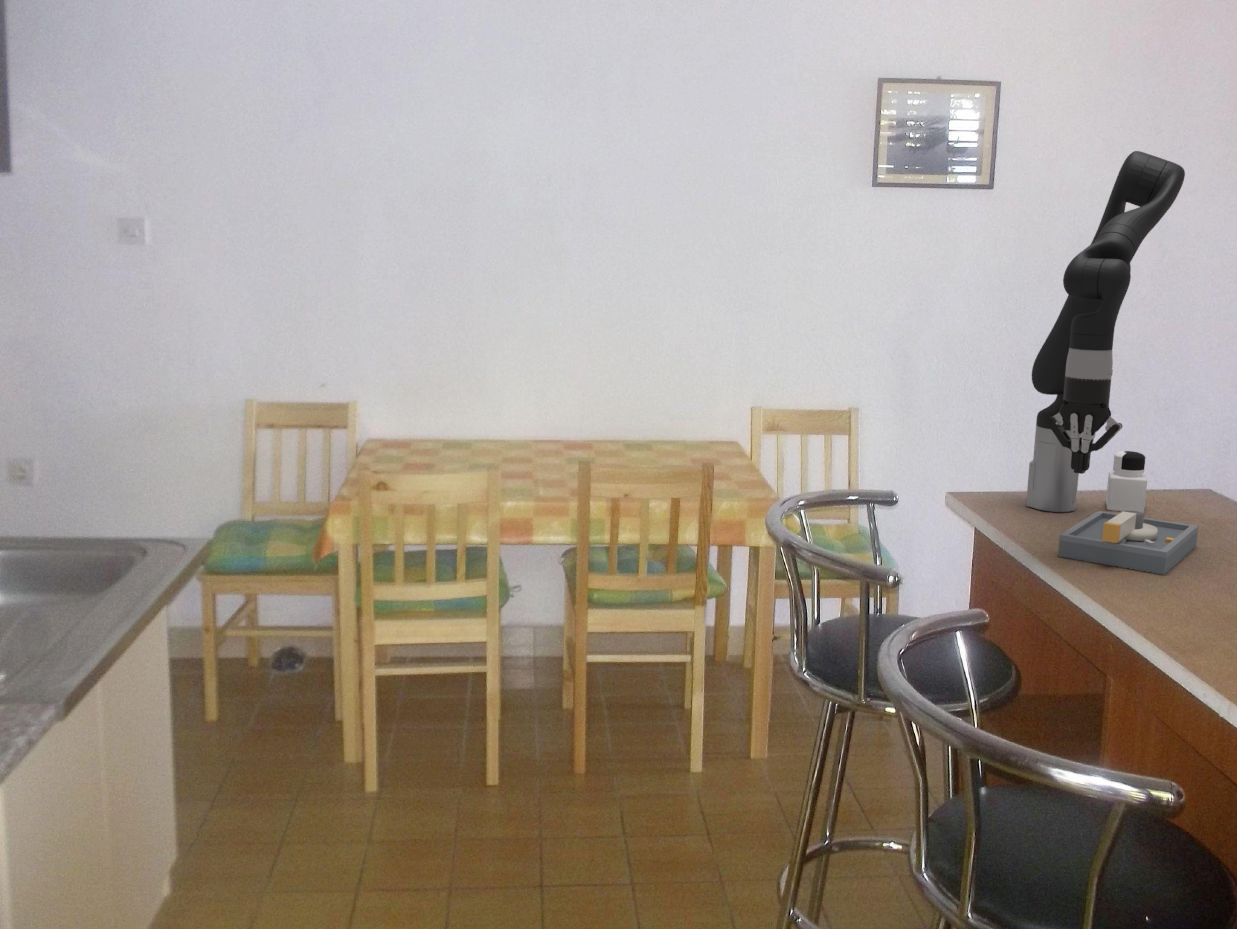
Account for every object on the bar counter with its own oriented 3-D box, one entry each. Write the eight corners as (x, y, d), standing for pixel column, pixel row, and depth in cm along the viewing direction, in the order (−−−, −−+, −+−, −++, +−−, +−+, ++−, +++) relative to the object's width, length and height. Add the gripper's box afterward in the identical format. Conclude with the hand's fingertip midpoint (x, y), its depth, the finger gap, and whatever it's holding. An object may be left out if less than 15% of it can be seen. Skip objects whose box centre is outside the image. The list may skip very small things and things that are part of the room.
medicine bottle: (1141, 506, 261) (1147, 450, 258) (1143, 513, 254) (1150, 456, 252) (1105, 503, 263) (1111, 448, 261) (1107, 510, 256) (1112, 454, 254)
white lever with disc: (1111, 525, 230) (1113, 502, 229) (1162, 533, 225) (1164, 509, 224) (1082, 545, 215) (1084, 520, 215) (1135, 554, 210) (1138, 528, 209)
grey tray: (1057, 556, 220) (1059, 534, 219) (1096, 530, 239) (1098, 510, 238) (1164, 574, 210) (1166, 552, 209) (1195, 546, 229) (1198, 525, 228)
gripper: (1043, 373, 214) (1035, 471, 217) (1122, 380, 206) (1112, 481, 209) (1056, 370, 220) (1048, 464, 223) (1133, 376, 212) (1124, 474, 215)
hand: (1079, 472), depth 216 cm, fingers closed
